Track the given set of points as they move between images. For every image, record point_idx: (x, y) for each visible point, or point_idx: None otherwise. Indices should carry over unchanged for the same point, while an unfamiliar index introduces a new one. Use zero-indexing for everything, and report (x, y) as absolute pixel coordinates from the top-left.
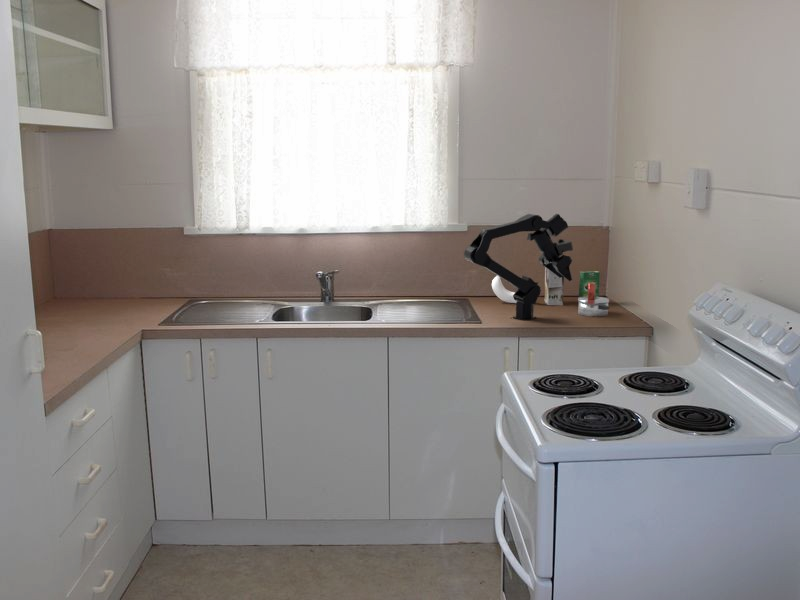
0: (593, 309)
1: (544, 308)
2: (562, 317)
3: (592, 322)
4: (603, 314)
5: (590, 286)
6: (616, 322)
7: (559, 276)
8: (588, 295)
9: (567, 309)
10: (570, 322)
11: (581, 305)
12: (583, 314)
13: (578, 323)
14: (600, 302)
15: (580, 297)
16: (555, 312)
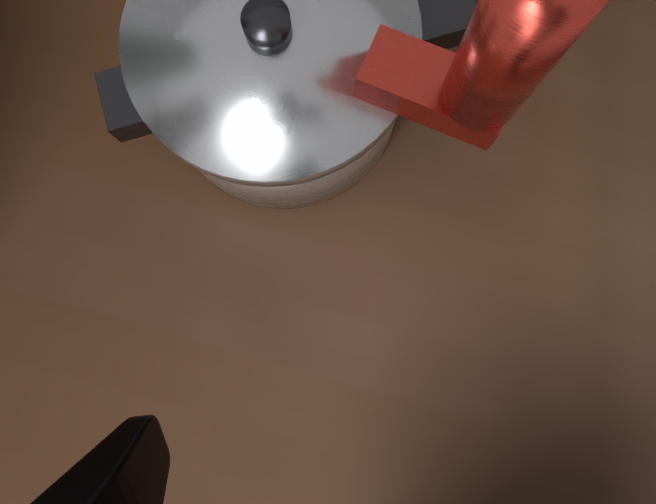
0: None
1: (28, 430)
2: (408, 377)
3: (605, 195)
4: None
5: (588, 24)
6: (606, 26)
7: (158, 486)
8: (511, 108)
9: (100, 247)
10: (604, 366)
11: (321, 178)
12: (348, 187)
13: (642, 312)
14: (417, 12)
15: (163, 131)
16: (204, 380)
